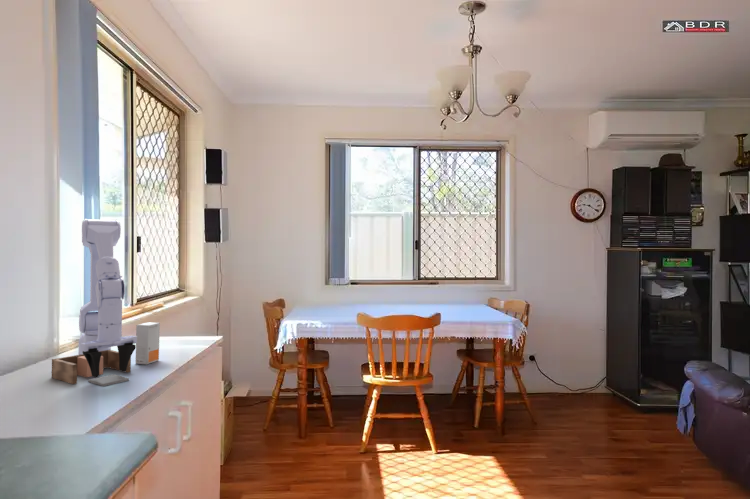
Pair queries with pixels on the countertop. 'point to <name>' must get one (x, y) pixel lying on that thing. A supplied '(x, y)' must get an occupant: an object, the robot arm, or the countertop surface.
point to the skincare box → (147, 342)
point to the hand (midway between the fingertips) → (109, 373)
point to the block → (87, 367)
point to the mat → (108, 380)
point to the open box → (68, 365)
